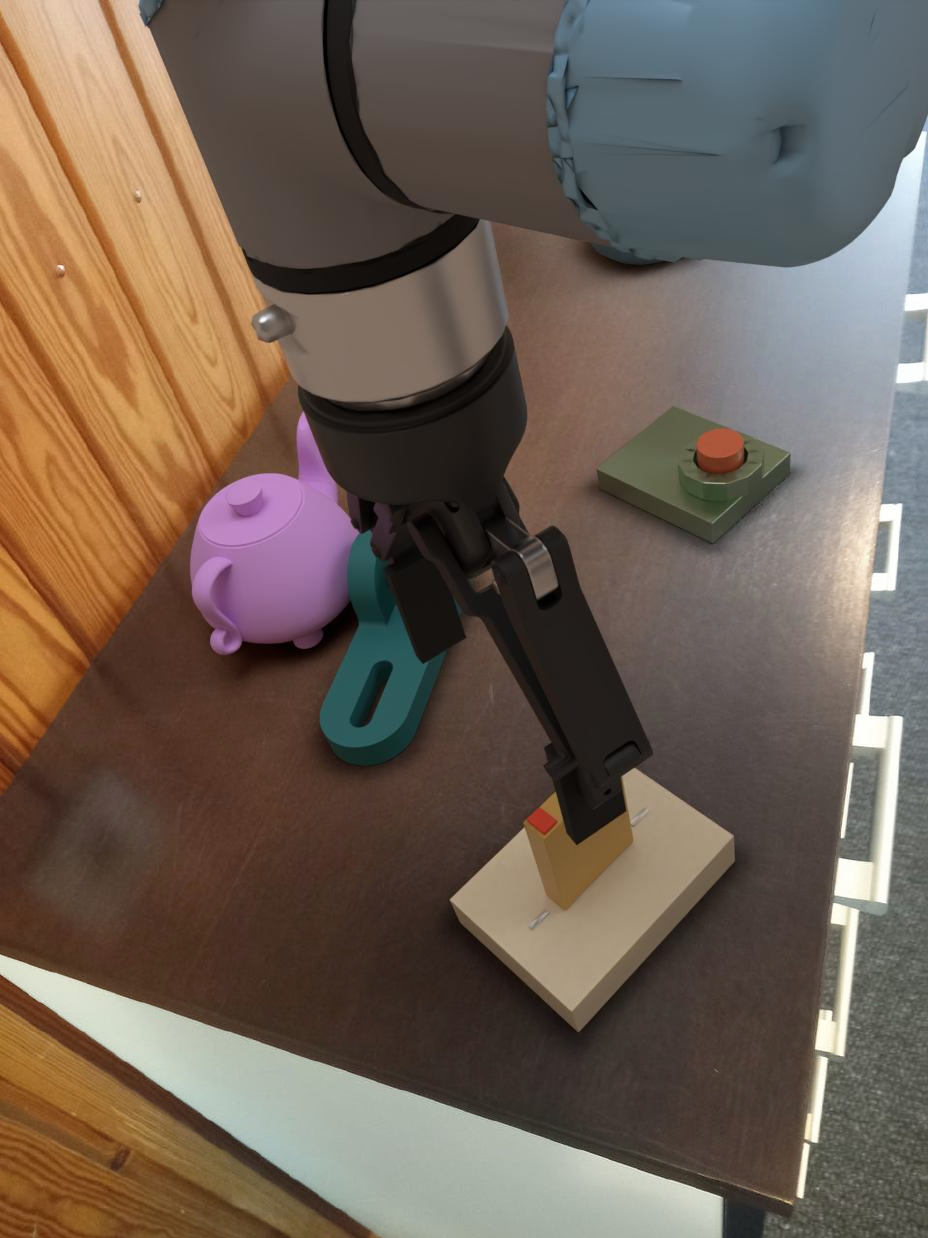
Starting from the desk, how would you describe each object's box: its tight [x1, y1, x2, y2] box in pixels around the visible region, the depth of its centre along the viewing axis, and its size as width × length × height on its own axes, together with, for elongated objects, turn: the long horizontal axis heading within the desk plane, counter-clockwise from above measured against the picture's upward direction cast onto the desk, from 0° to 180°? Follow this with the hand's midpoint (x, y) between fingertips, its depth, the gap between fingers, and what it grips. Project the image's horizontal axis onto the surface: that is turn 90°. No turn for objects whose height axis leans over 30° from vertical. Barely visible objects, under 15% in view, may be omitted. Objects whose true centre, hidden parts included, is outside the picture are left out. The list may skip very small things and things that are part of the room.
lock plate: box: [449, 767, 736, 1033], centre depth 62 cm, size 14×10×3 cm
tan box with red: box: [522, 777, 633, 910], centre depth 58 cm, size 6×2×8 cm, turn 133°
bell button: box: [696, 428, 744, 474], centre depth 81 cm, size 4×4×2 cm
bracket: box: [319, 530, 473, 767], centre depth 76 cm, size 18×7×8 cm, turn 163°
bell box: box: [596, 405, 792, 544], centre depth 85 cm, size 12×10×4 cm
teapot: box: [189, 411, 359, 656], centre depth 82 cm, size 20×14×12 cm
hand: (512, 727), depth 50 cm, fingers open, 13 cm apart
